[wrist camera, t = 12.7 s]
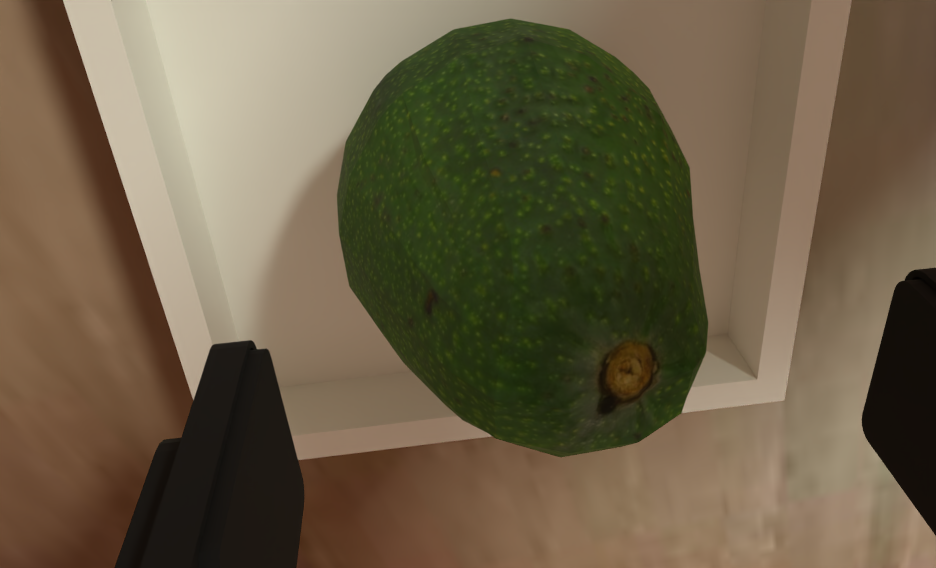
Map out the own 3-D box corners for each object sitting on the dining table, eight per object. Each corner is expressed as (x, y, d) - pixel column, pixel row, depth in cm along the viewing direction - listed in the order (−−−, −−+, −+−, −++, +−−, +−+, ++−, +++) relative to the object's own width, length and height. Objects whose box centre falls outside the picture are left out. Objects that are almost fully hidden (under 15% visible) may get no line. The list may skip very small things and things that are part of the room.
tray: (819, -277, 19) (901, -292, 16) (741, 337, 28) (784, 400, 25) (55, -211, 18) (-8, -215, 15) (233, 398, 28) (216, 470, 25)
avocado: (606, 250, 25) (764, 562, 15) (351, 258, 24) (331, 591, 14) (638, -20, 21) (891, 151, 11) (333, -20, 20) (286, 163, 10)
